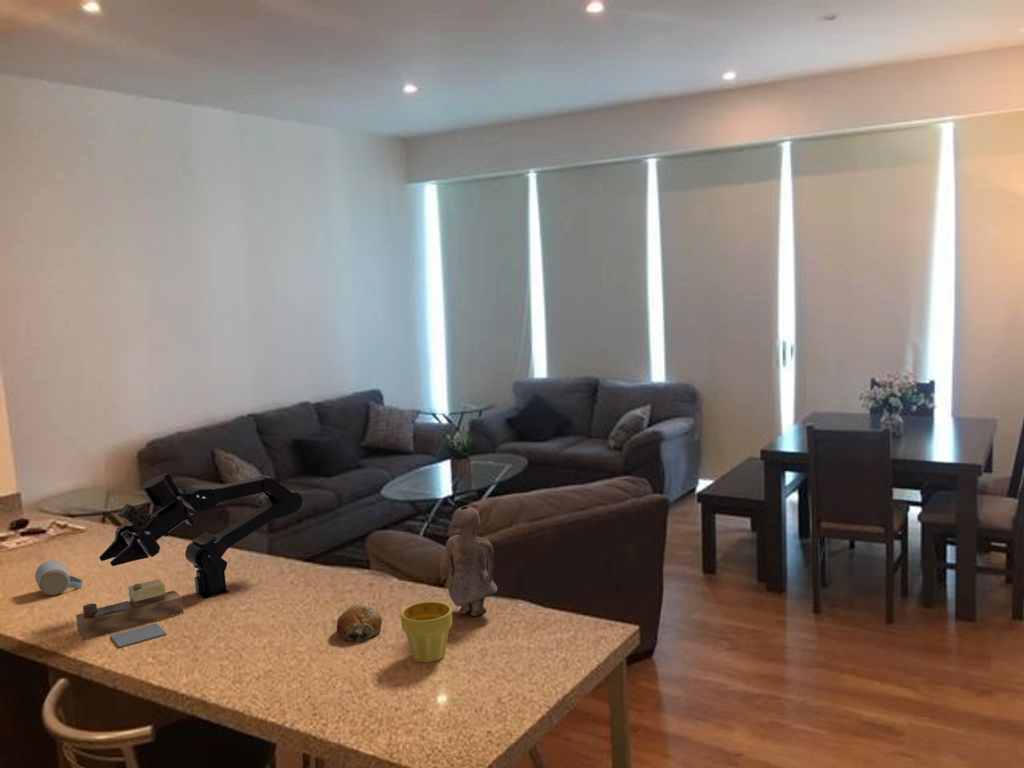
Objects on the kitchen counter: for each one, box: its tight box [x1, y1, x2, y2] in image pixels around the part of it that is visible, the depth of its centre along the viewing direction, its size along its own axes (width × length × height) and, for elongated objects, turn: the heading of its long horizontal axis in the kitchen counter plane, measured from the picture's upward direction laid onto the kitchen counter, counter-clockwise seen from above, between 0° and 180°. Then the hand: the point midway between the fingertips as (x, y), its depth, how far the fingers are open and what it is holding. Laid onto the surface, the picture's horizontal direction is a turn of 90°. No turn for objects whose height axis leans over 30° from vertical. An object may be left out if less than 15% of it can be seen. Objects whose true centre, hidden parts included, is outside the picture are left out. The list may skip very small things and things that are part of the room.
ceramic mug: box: [34, 559, 84, 596], centre depth 227 cm, size 11×8×8 cm
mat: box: [110, 622, 167, 649], centre depth 194 cm, size 10×8×1 cm
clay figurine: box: [445, 505, 498, 617], centre depth 197 cm, size 13×10×25 cm
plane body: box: [75, 590, 184, 640], centre depth 202 cm, size 22×6×6 cm, turn 127°
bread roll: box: [336, 603, 383, 642], centre depth 190 cm, size 10×10×8 cm
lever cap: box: [128, 578, 166, 602], centre depth 204 cm, size 7×5×3 cm, turn 127°
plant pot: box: [400, 600, 453, 664], centre depth 176 cm, size 10×10×10 cm
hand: (105, 562), depth 202 cm, fingers open, 9 cm apart
